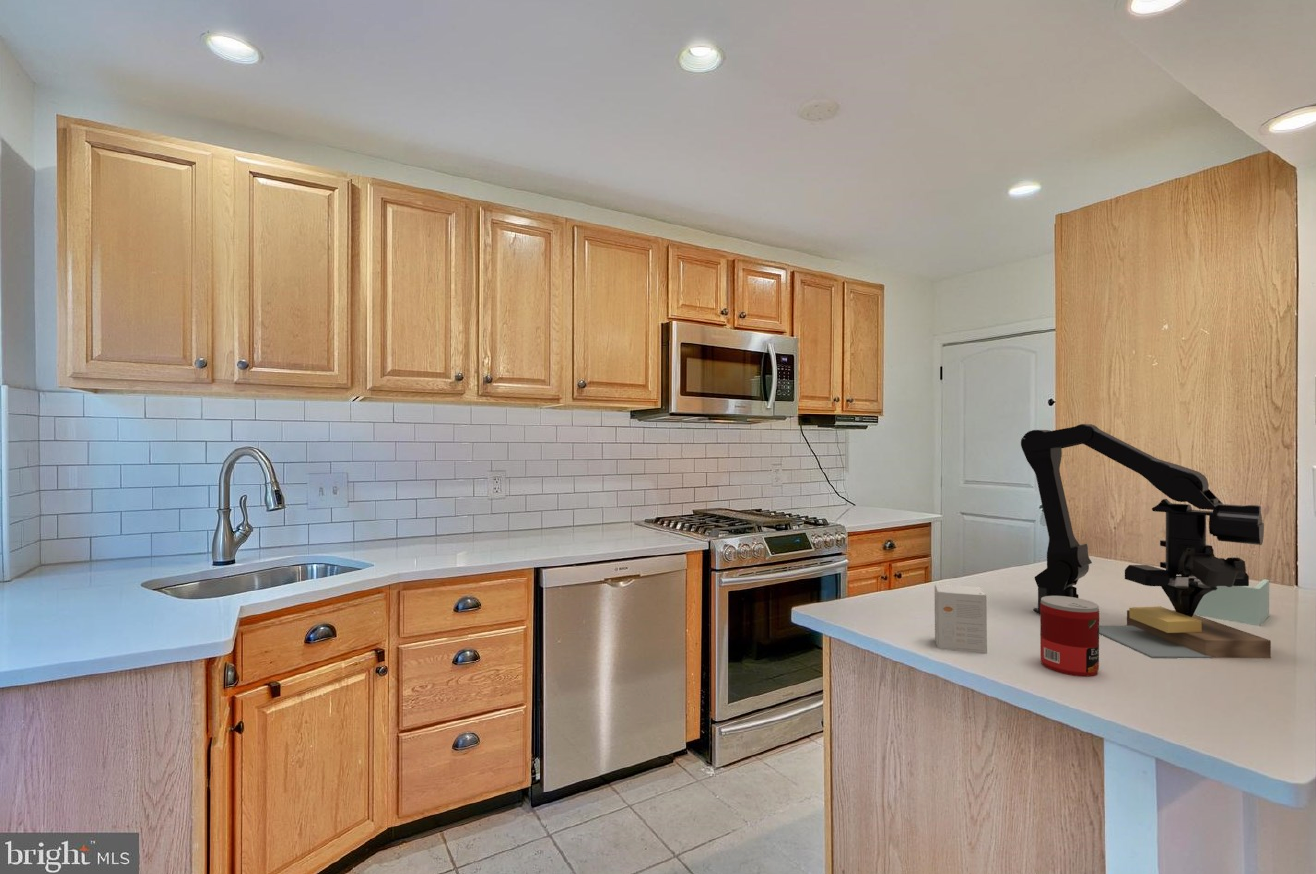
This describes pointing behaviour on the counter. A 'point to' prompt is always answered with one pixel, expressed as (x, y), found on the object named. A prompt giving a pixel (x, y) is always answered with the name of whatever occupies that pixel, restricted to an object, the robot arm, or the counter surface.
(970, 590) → the small box
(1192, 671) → the counter surface
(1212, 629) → the brown flat block
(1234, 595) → the right angle wall
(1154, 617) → the yellow flat block
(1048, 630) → the canned food
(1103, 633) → the mat
